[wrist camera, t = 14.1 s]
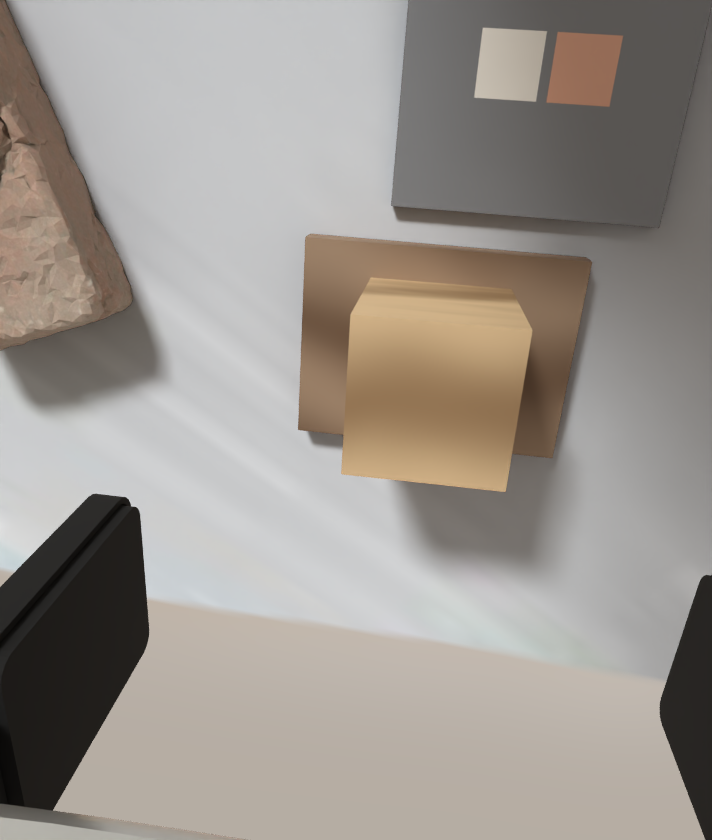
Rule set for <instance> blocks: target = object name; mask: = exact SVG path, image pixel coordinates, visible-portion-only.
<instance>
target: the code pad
mask: <svg viewBox="0 0 712 840" xmlns="http://www.w3.org/2000/svg"><path fill="white" fill-rule="evenodd" d="M711 7H712V0H409V1H408V13H407V25H406V36H405V48H404V60H403V72H402V84H401V95H400V107H399V119H398V131H397V142H396V154H395V166H394V178H393V189H392V201H391V206H399V207H411V208H423V209H435V210H447V211H460V212H472V213H484V214H496V215H509V216H521V217H533V218H545V219H558V220H570V221H582V222H594V223H607V224H619V225H631V226H643V227H656V228H659V226H660V222H661V218H662V214H663V209H664V205H665V201H666V197H667V193H668V188H669V184H670V180H671V176H672V172H673V167H674V163H675V159H676V155H677V150H678V146H679V142H680V138H681V134H682V129H683V125H684V121H685V117H686V112H687V108H688V104H689V100H690V96H691V91H692V87H693V83H694V79H695V75H696V70H697V66H698V62H699V58H700V53H701V49H702V45H703V41H704V37H705V32H706V28H707V24H708V20H709V15H710V11H711Z"/></svg>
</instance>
